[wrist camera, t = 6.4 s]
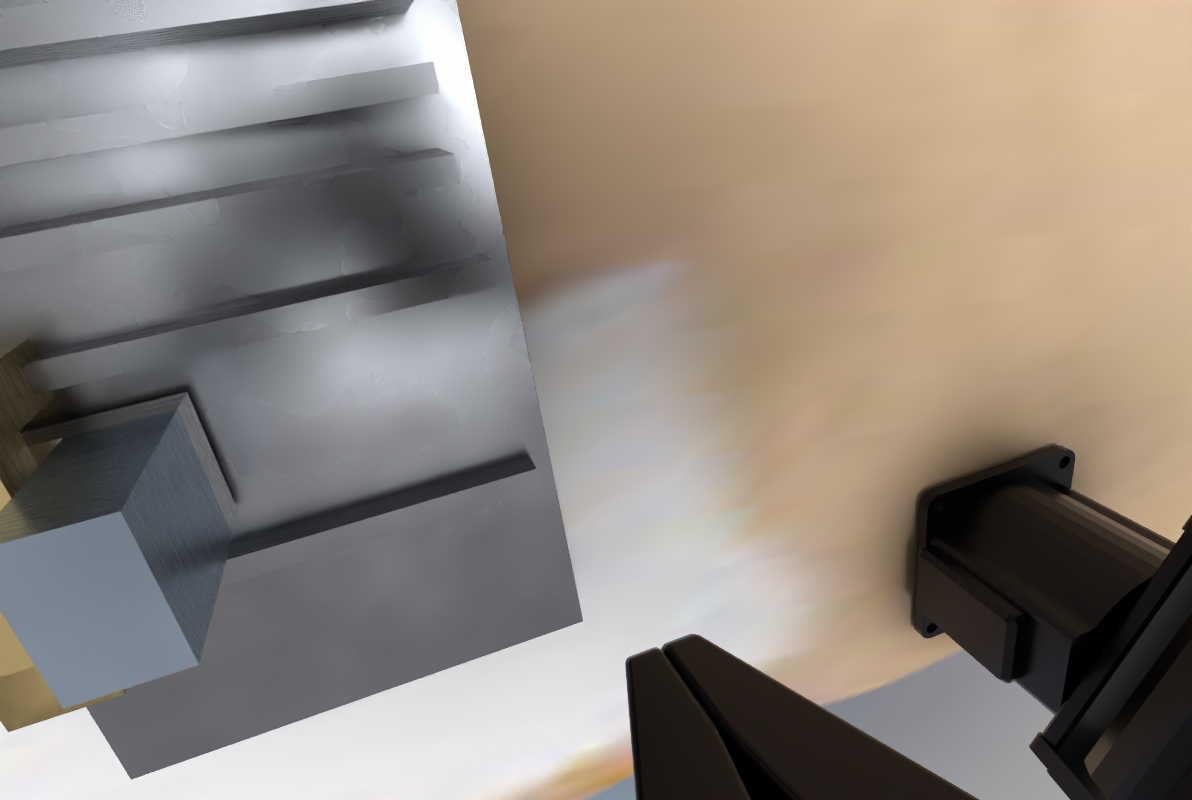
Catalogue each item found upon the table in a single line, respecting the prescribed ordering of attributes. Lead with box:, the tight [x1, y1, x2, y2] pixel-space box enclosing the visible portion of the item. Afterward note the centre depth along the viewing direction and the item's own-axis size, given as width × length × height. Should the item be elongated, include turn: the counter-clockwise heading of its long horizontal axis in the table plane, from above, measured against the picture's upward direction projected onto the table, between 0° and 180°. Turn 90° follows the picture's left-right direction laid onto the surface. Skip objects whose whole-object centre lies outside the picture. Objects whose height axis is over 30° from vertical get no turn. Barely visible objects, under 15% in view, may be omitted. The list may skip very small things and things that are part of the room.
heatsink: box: [0, 0, 583, 779], centre depth 15 cm, size 12×18×5 cm, turn 9°
